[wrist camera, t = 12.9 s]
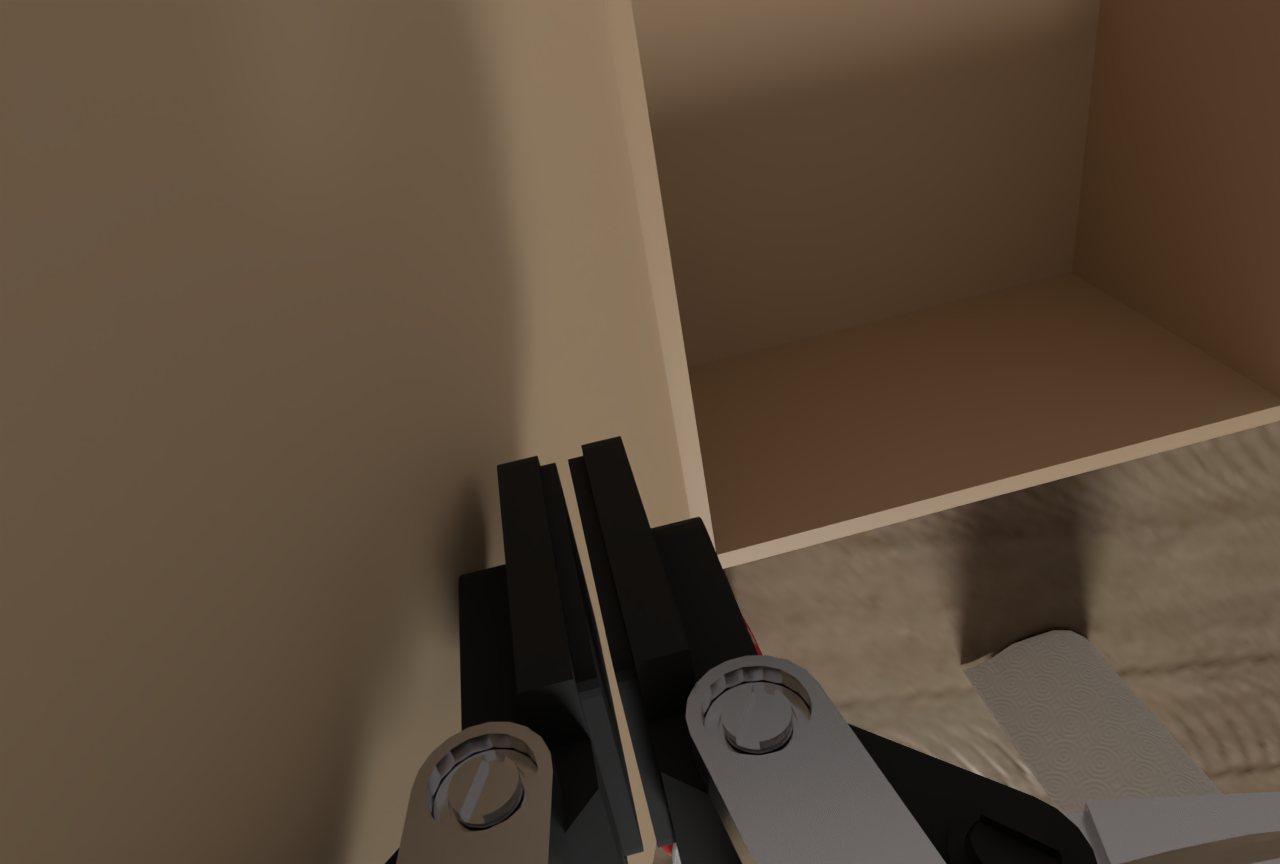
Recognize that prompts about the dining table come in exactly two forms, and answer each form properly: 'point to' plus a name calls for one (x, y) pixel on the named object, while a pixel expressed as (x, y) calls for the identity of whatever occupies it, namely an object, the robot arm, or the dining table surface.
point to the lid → (290, 398)
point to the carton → (948, 244)
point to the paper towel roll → (1082, 724)
